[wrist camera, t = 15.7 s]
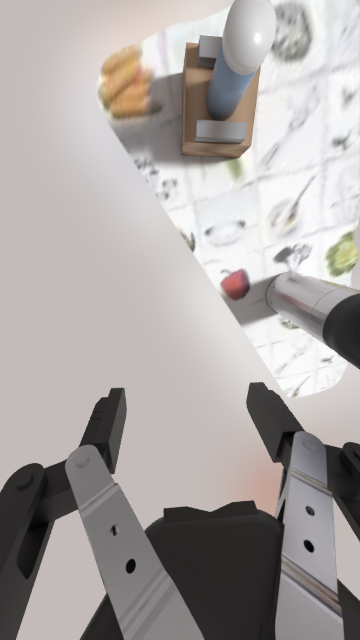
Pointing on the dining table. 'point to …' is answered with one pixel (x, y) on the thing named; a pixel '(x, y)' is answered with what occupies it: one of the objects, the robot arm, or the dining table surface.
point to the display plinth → (197, 123)
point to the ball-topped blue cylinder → (240, 54)
